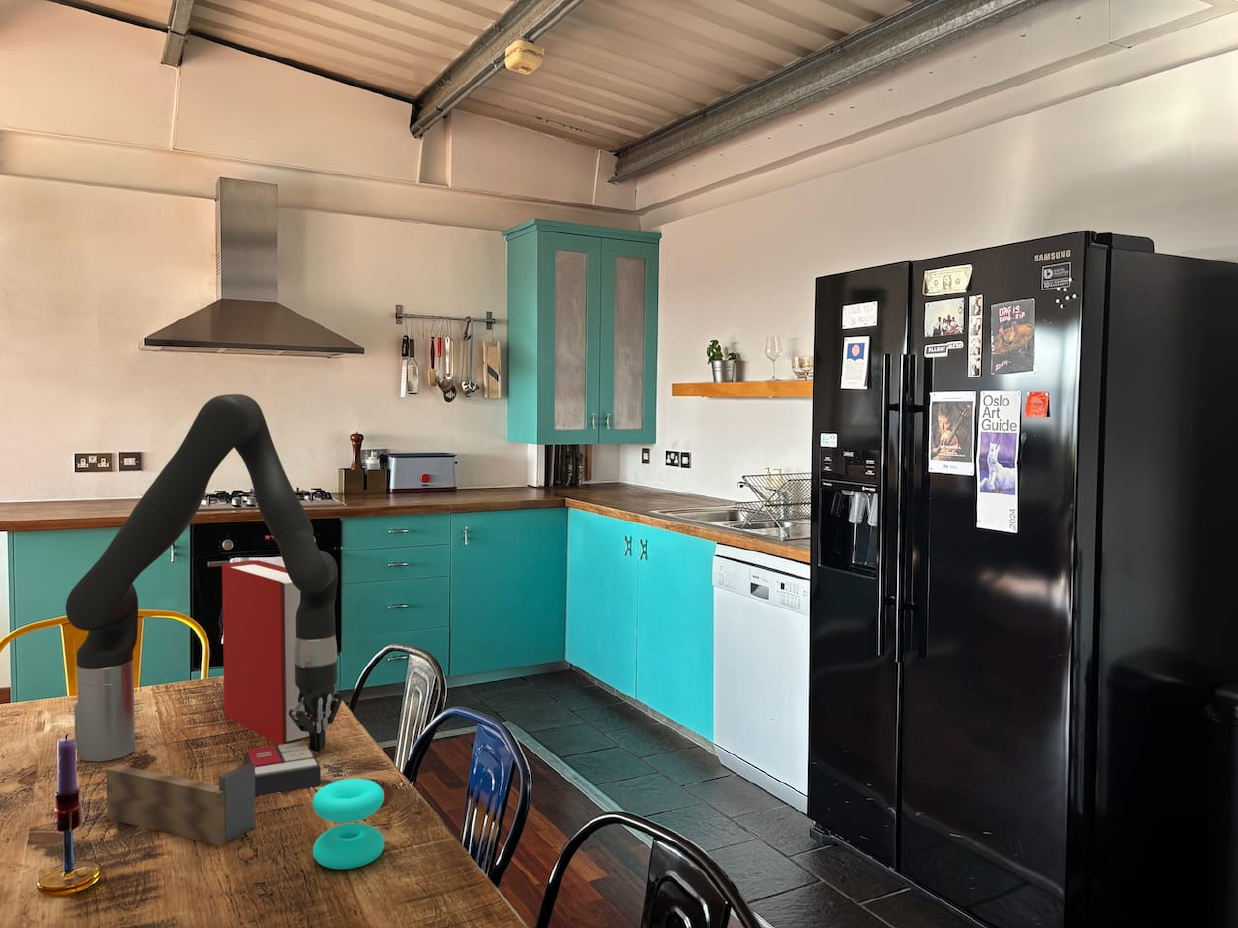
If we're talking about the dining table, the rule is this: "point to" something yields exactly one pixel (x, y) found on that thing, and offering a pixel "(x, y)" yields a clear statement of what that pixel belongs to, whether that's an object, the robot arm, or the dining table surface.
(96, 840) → the dining table surface
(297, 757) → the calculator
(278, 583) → the book
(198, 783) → the mottled stone block
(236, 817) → the bookend
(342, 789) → the donuts
